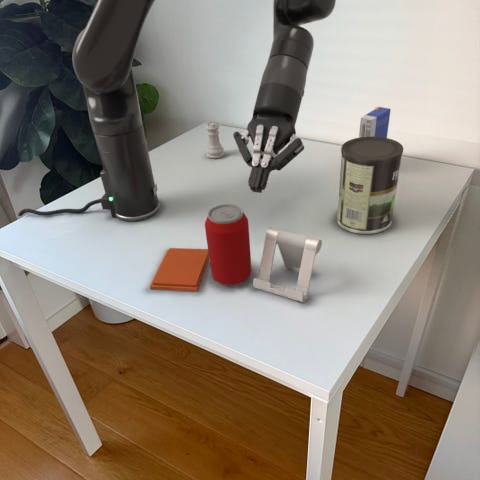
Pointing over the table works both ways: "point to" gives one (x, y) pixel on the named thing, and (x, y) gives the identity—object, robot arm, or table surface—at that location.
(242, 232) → the beverage can
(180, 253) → the folded cloth
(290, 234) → the tablet stand
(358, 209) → the coffee can
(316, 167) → the table surface
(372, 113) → the walkman
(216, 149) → the rook chess piece
